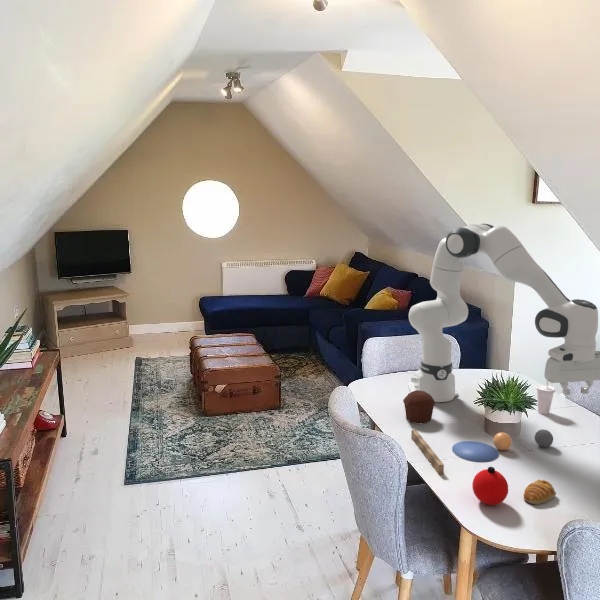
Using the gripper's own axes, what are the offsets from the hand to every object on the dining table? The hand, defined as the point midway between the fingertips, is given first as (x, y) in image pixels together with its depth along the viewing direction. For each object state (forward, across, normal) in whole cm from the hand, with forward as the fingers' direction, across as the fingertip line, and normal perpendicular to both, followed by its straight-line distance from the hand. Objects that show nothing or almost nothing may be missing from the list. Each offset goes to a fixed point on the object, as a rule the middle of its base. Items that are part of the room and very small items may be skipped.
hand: (575, 393), depth 178 cm
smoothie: (+17, -6, -25) cm, 31 cm away
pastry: (+18, +27, +27) cm, 42 cm away
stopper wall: (+17, +48, 0) cm, 51 cm away
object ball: (+14, +24, 0) cm, 28 cm away
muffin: (+17, +42, -27) cm, 52 cm away
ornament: (+17, +42, +28) cm, 53 cm away
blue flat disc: (+17, +32, 0) cm, 37 cm away
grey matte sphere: (+14, +10, 0) cm, 17 cm away
